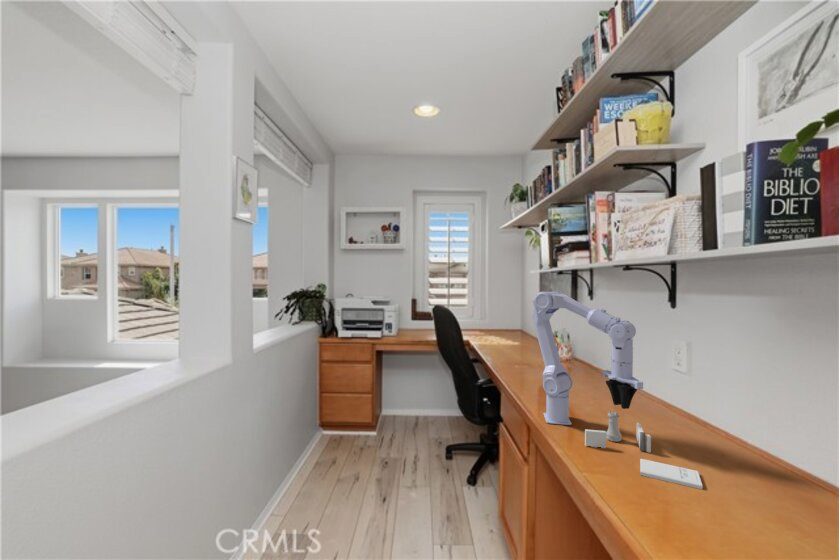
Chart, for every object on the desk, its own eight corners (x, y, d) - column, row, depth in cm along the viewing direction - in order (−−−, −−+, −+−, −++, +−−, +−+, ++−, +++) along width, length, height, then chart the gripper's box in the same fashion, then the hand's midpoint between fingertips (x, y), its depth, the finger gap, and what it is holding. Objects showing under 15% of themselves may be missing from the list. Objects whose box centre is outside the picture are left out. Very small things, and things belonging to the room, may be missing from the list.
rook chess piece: (602, 437, 117) (601, 410, 117) (615, 436, 117) (614, 409, 118) (612, 442, 112) (611, 415, 113) (625, 441, 113) (624, 414, 113)
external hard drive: (640, 463, 101) (697, 476, 95) (640, 477, 94) (702, 491, 88) (640, 457, 101) (697, 469, 95) (640, 471, 94) (702, 484, 88)
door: (640, 437, 116) (640, 422, 116) (644, 451, 107) (645, 433, 107) (635, 437, 116) (636, 421, 116) (639, 450, 107) (640, 433, 107)
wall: (584, 444, 111) (585, 429, 111) (649, 450, 108) (649, 434, 108) (585, 446, 110) (585, 430, 110) (650, 452, 106) (650, 436, 106)
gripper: (594, 357, 121) (593, 399, 121) (628, 367, 107) (627, 415, 107) (613, 356, 123) (613, 398, 123) (649, 366, 108) (649, 414, 108)
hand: (621, 406), depth 115 cm, fingers open, 3 cm apart
